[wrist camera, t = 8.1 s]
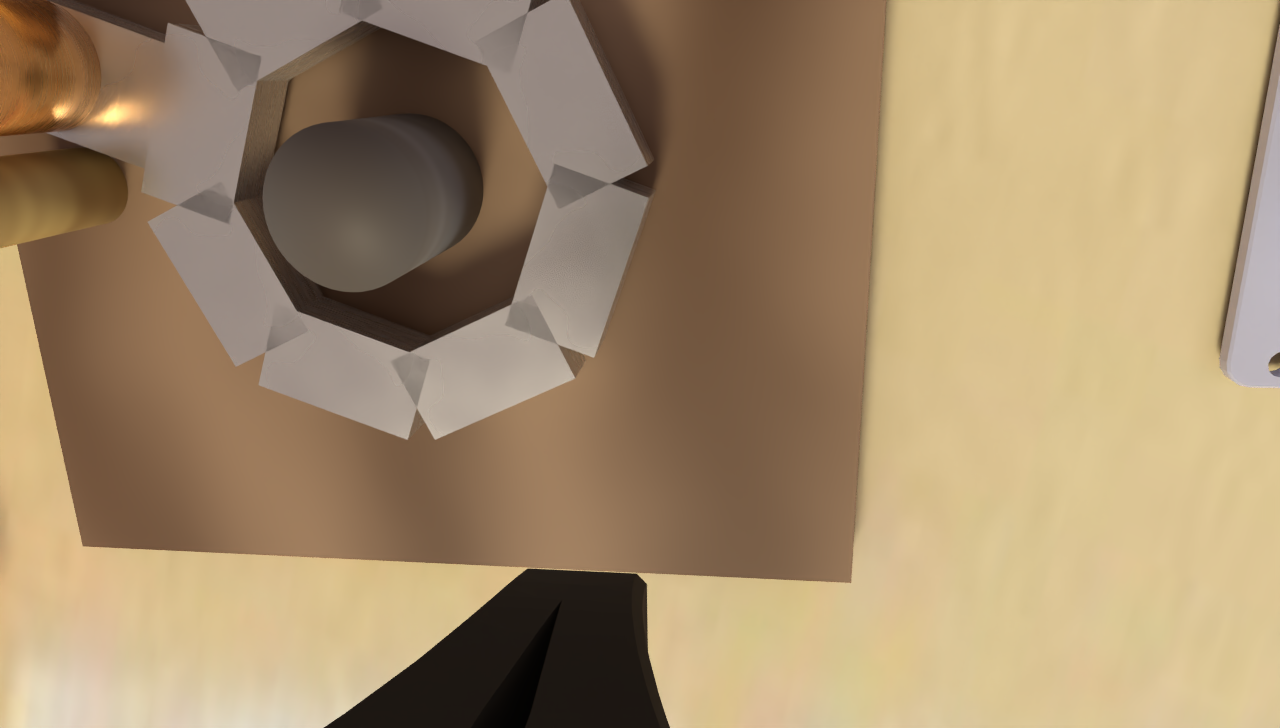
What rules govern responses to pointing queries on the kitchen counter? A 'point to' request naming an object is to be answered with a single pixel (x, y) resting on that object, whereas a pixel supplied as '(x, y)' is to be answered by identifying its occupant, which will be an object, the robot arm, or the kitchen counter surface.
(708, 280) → the peg base
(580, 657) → the robot arm
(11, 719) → the kitchen counter surface
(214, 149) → the white segmented ring
